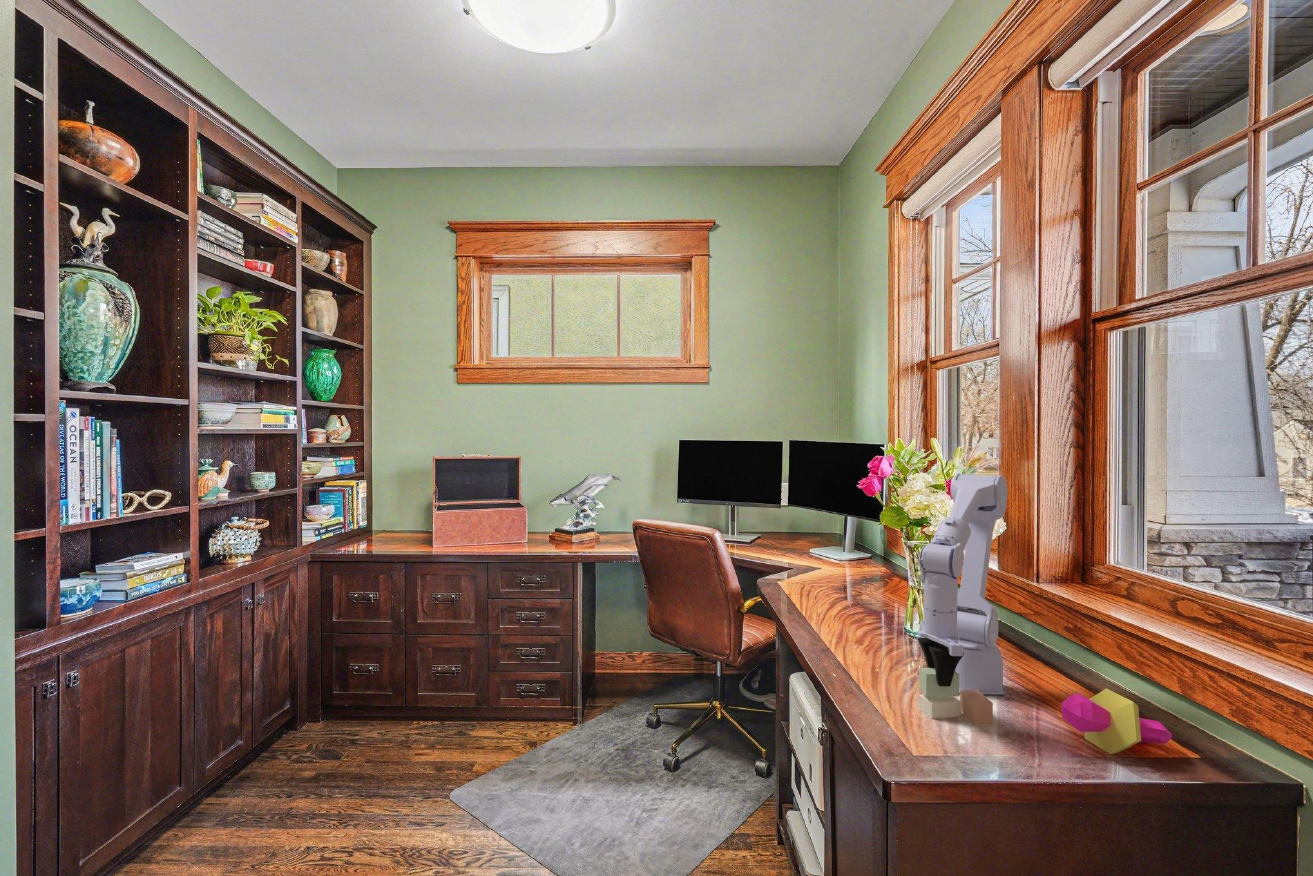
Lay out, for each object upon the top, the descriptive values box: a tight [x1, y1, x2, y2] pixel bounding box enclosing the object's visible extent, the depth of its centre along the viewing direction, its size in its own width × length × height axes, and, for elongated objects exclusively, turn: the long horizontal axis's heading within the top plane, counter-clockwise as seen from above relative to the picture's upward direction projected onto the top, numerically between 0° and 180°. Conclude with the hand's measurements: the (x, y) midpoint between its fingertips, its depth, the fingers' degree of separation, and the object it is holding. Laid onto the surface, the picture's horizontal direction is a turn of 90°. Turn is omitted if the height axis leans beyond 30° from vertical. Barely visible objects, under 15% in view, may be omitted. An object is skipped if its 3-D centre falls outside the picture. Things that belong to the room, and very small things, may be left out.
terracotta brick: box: [959, 689, 994, 726], centre depth 118 cm, size 6×3×4 cm, turn 178°
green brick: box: [919, 667, 960, 697], centre depth 120 cm, size 6×3×4 cm, turn 88°
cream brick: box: [918, 693, 962, 720], centre depth 120 cm, size 6×4×3 cm, turn 101°
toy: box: [1061, 688, 1174, 755], centre depth 107 cm, size 10×18×10 cm, turn 95°
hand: (939, 681), depth 120 cm, fingers closed on green brick, 3 cm apart
